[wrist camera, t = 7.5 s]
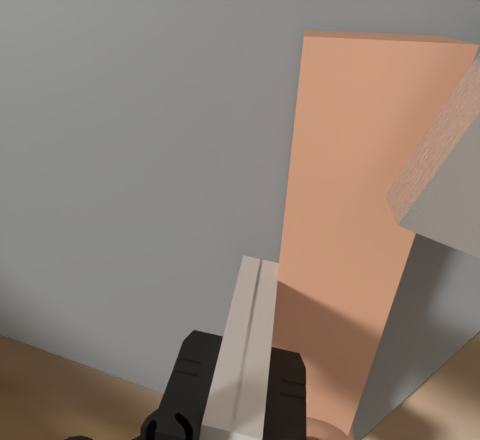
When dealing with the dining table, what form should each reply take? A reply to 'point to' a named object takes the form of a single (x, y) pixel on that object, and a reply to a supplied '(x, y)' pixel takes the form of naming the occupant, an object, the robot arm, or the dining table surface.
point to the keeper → (445, 174)
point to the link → (352, 203)
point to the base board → (184, 179)
